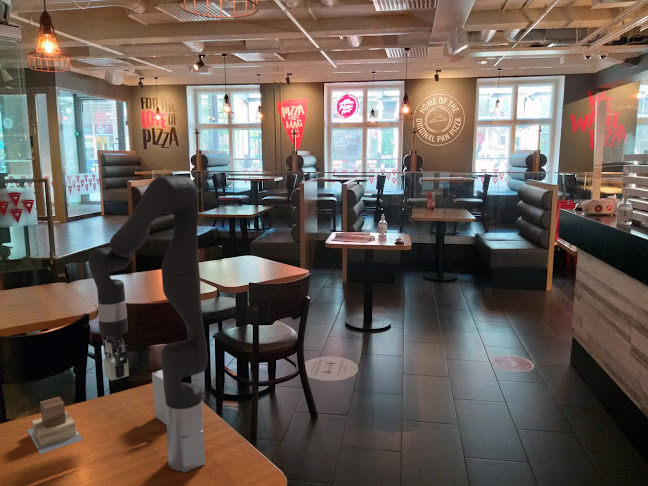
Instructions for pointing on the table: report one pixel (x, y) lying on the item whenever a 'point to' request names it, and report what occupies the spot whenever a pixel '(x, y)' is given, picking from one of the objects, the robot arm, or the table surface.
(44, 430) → the pedestal
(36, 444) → the plate
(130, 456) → the table surface
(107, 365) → the block
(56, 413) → the block
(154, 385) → the skincare box
